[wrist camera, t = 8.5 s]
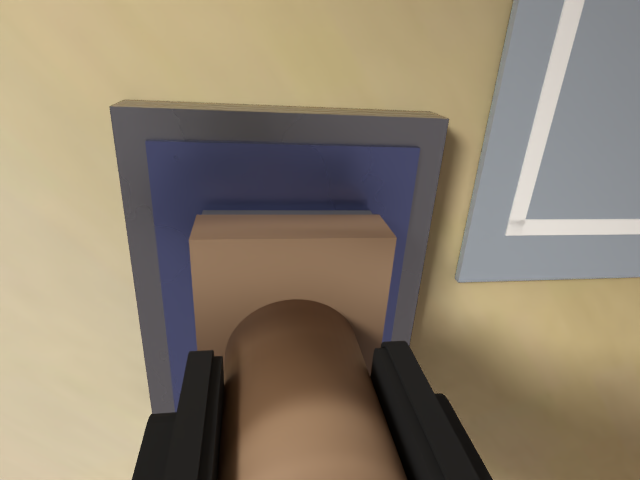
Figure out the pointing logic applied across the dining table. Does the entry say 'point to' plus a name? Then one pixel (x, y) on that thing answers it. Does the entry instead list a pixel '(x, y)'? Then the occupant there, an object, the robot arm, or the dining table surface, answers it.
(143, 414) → the dining table surface
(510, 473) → the dining table surface
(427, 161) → the ink pad
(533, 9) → the stamp card
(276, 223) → the stamp
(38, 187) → the dining table surface
